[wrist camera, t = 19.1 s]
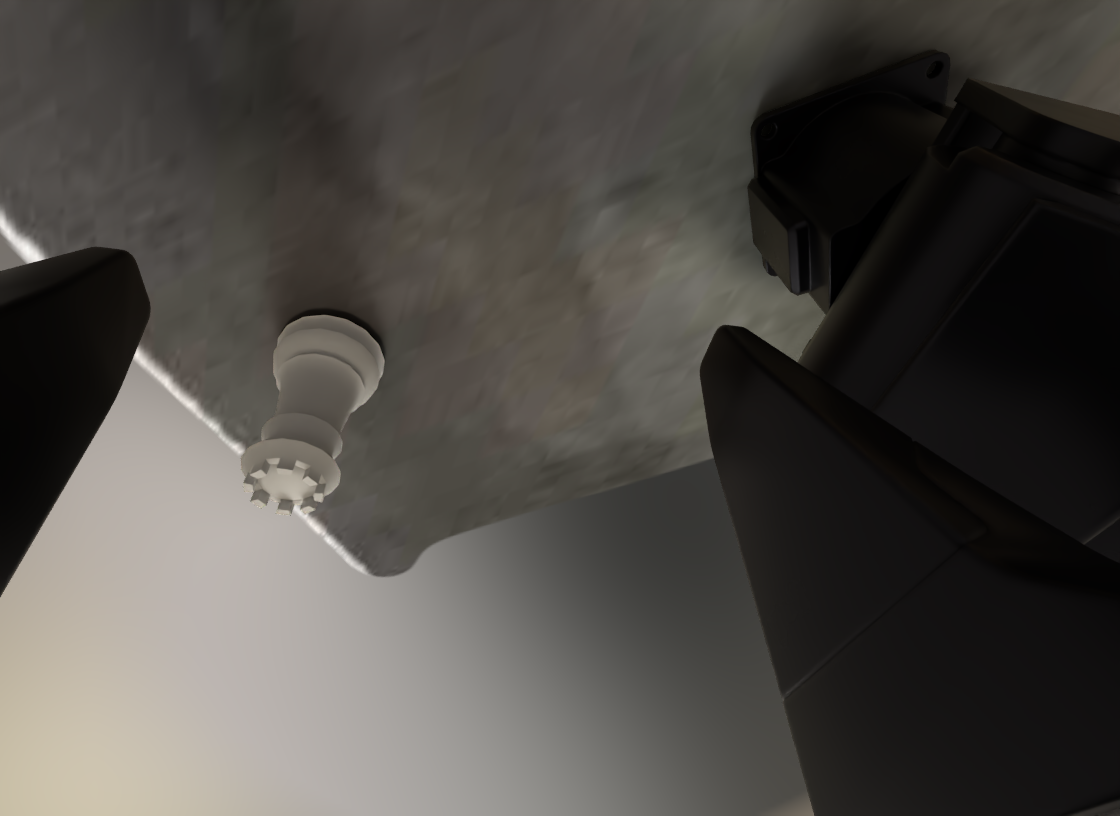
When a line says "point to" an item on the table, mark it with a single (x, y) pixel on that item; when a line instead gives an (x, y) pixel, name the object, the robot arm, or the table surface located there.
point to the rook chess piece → (311, 410)
